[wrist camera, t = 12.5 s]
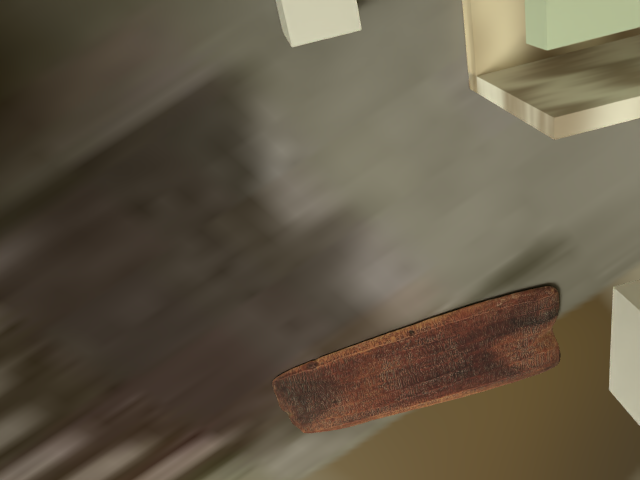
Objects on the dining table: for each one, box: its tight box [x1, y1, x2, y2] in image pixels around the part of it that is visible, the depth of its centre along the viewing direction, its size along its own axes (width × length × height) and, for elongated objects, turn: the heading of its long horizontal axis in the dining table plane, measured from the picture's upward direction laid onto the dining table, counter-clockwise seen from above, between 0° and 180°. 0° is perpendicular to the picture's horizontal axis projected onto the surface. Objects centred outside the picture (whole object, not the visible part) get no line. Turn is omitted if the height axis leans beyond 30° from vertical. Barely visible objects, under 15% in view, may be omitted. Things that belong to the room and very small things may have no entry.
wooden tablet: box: [272, 286, 560, 433], centre depth 51 cm, size 26×2×10 cm
